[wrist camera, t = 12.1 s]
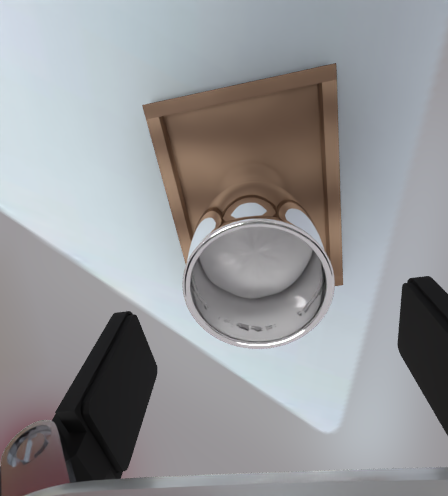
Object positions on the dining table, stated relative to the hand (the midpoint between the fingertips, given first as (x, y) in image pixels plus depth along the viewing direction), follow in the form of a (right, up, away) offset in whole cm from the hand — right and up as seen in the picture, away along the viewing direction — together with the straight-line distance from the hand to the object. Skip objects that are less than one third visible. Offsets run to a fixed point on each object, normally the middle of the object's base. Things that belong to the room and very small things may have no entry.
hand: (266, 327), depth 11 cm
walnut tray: (+1, +8, +17) cm, 19 cm away
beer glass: (+1, +7, +16) cm, 18 cm away
